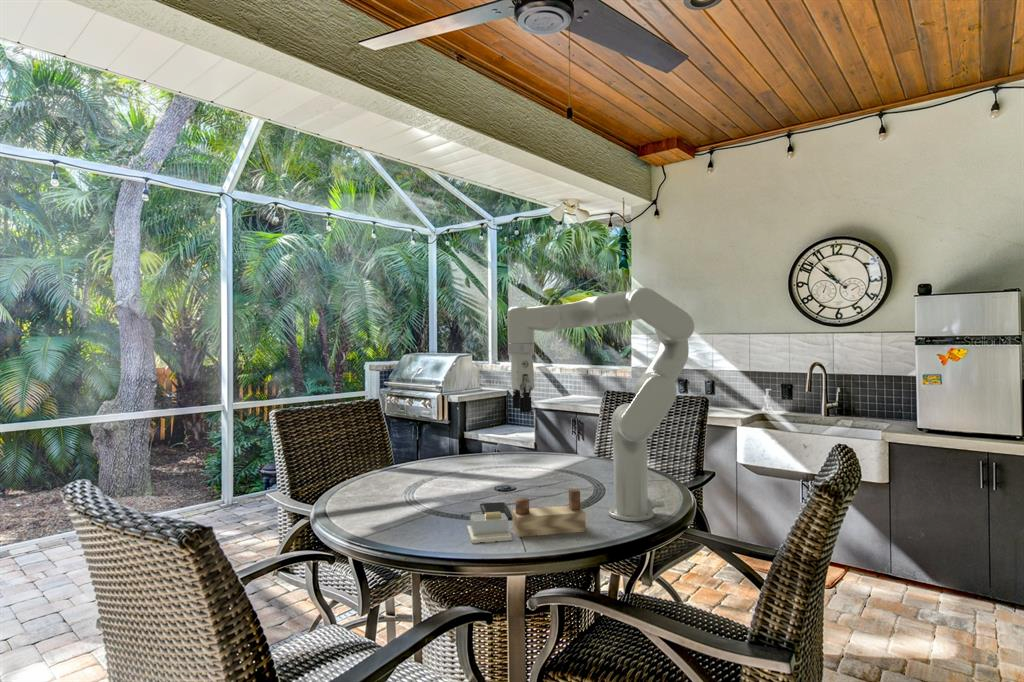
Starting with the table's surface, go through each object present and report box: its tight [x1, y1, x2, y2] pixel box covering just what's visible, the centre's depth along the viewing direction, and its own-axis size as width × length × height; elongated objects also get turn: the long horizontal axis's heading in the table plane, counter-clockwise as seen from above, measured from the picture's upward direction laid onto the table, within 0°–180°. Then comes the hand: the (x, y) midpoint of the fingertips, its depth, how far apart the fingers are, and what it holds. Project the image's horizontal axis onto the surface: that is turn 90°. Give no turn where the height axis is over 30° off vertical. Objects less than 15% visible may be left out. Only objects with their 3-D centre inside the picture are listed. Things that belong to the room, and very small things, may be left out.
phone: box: [479, 501, 513, 520], centre depth 169 cm, size 8×1×15 cm
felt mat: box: [466, 525, 513, 544], centre depth 149 cm, size 10×11×1 cm
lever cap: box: [469, 511, 509, 536], centre depth 149 cm, size 9×6×4 cm, turn 101°
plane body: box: [511, 488, 587, 538], centre depth 152 cm, size 18×7×10 cm, turn 101°
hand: (521, 410), depth 164 cm, fingers open, 9 cm apart
